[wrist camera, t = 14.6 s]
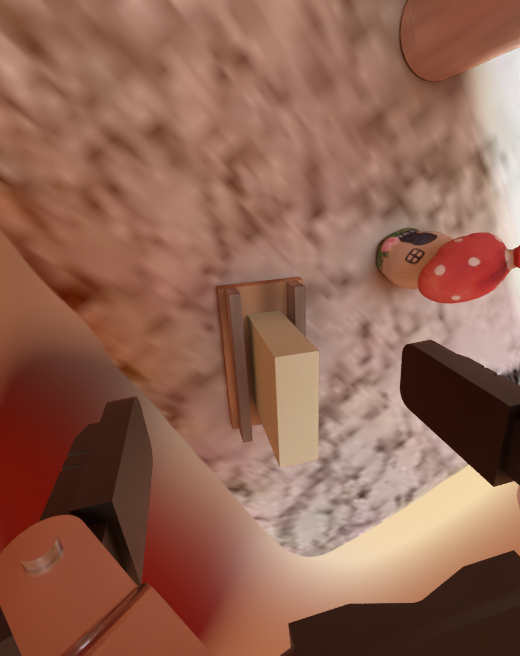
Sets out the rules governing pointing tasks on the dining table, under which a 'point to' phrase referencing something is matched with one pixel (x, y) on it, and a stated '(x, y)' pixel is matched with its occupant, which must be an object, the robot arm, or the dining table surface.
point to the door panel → (285, 386)
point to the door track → (235, 337)
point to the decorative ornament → (446, 263)
